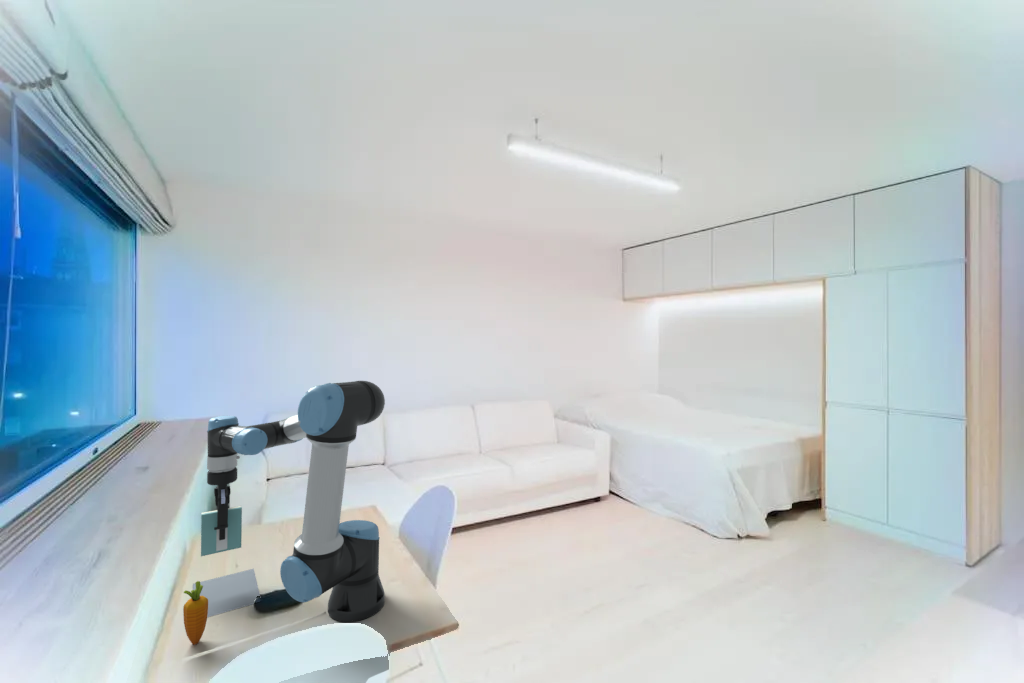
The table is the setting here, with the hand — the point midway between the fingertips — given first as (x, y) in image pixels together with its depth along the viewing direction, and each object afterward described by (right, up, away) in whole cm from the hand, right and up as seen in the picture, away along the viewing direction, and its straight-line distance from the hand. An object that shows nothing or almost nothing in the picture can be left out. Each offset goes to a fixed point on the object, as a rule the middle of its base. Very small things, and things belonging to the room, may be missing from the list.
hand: (221, 547), depth 132 cm
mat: (+2, -13, -2) cm, 13 cm away
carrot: (+9, -13, -24) cm, 28 cm away
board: (0, -1, 0) cm, 1 cm away
